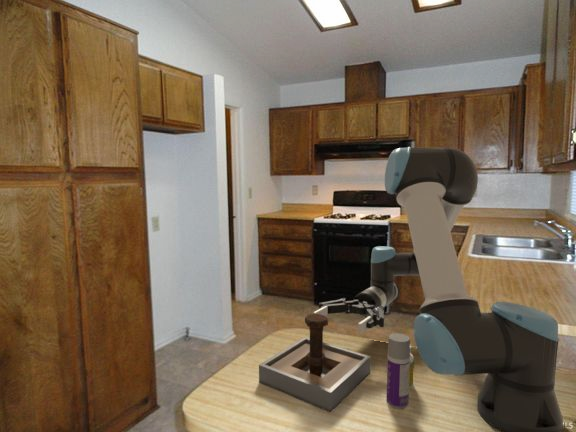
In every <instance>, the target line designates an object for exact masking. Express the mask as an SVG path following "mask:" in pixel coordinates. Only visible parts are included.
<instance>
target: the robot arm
mask: <svg viewBox="0 0 576 432" xmlns="http://www.w3.org/2000/svg"><path fill="white" fill-rule="evenodd" d="M478 175H479V173H478V170H477V167H476V164H475V163H474V161H473V159H472V158H471V157H470V156H469V155H468V154H467V153H466V152H464V151H462V150H461V149H458V148H455V147H411V146H407V147H399V148H395V149H393V150H392V151H391V153H390V154H389V156H388V158H387V162H386V166H385V173H384V189H385V191H386V193H387V194H389V195H394V194H395V199H396V202H397V204H398V205H399V206H401V207H403V208H404V210H405V215H406V219H407V224H408V227H409V233H410V238H411V242H412V247H413V250H412V252H396V249H395V248H394V247H392V246H387V245H385V246H381V245H378V246H375V247H373V248H372V251H371V255H370V256H371V258H370V287H368V288H366V289H365V290H363V291H361V292H358V294H356V295H355V297H354V298H353V300H347V301H346V298H345V297H342V298H339V299H335V300H329V301H323V302H318V309H317V310H315V311H313V313H312V314H321V315H324V316H326V317H327V316H328V315H330V314H339V313H340V314H342V313H345V314H346V315H348V314H350V315H351V314H354V315H356V314H357V315H360V316H362V317H364V319H363V320H361V321H360V322H358V323H357V333H358V335H362V334H363V333H365V332H366V331H367V330H369V329H373V328H374V327H380V328H384V327H385V316H384V315H385V307H387V306H389V305H390V304H392V303H393V302H394V301H395V300H396V299H397V297H398V294H399V290H398V287H397V285H396V283H395V278H396V277H402V276H419V279H420V282H421V287H422V292H423V296H424V297H423V298H424V302H423V303H422V304H421V306H420V307H419V312H420V314H418V315H417V316H416V317H415V318H414V321H413V329H414V331H413V337H414V342H415V346H416V348H417V351H418V353H419V355H420V358H421V359H422V361H423V363H424V364H425V365H426V366H427V368H428V369H429V370H431V371H432V372H434V373H435V374H437V375H442V376H443V375H444V376H445V375H449V376H450V375H452V376H455V377H457V376H458V377H459V376H462V375H479V374H480V375H483V374H487V375H486V376H485V379H484V382H482V383H483V384H482V385H481V388H480V390H479V392H478V394H477V400H476V407H477V408H476V409H477V411H478V414H480V416H481V417H482V418H483V419H484V420H485V421H486V422H487V423H488V424H490V425H491V426H493V427H494V428H496V429H498V430H499V431H501V432H563V423H564V418H563V415H562V411H561V408H560V405H559V402H558V397H557V394H556V391H555V384H556V383H555V382H556V381H555V380H556V370H557V358H558V350H559V349H558V347H559V342H560V338H559V323H558V321H557V320H556V319H555V318H554V317H553V316H552V315H550V314H549V313H547V312H544V311H542V310H540V309H538V308H537V309H536V308H535V307H531V306H527V305H523V304H519V303H513V302H510V301H509V302H507V301H497V302H494V303H492V304H491V307H490V312H482V311H481V308H480V306H479V302H478V300H477V299H476V298H474V297H473V296H471V295H469V293H468V292H467V291H468V290H467V289H466V288H467V287H466V284H465V280H464V277H463V273H462V269H461V266H460V263H459V259H458V255H457V252H456V248H455V244H454V240H453V238H452V233H451V231H452V229H454V227H455V226H454V225H455V223H456V222H457V219H458V218H459V217H460V215H461V212H462V211H463V209H464V206H466V205H468V204H470V203H471V202H472V200H473V198H474V196H475V194H476V191H477V188H478V182H479V181H478V180H479V179H478V178H479V176H478Z"/></svg>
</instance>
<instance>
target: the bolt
mask: <svg viewBox="0 0 576 432" xmlns="http://www.w3.org/2000/svg"><path fill="white" fill-rule="evenodd" d="M304 323H305V324H306V326H307V327H309V328H308V329H309V338H310V352H309V353H308V354H307V355H306V359H307V362H308V364H310V373H311V374H314V375H316V376H319V377H320V376H321V374H322V365H323V364H324V363H325V362H326V356H325V354H324V353H323V350H322V348H323V341H324V340H323V339H324V337H323V336H324V327H326V326H328V325H329V320H328V317H327V316H324V315H321V314H313V313H310V314H307V315H306V316H305V317H304Z"/></svg>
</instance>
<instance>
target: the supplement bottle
mask: <svg viewBox="0 0 576 432" xmlns="http://www.w3.org/2000/svg"><path fill="white" fill-rule="evenodd" d="M414 363H415V359H414V355H413V354H412V345H411V344H410V368H409V389H411V388H412V387H413V386H414V367H415V366H414Z"/></svg>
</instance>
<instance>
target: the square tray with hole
mask: <svg viewBox="0 0 576 432" xmlns="http://www.w3.org/2000/svg"><path fill="white" fill-rule="evenodd" d="M322 350H323V353H324V354H325V356H326V362H325V363H324V364H323V365H322V367H323V368H326V369H329V370H331V371H330V372H328V373H327V374H326V375H325V376H323V377H319V376H316V375H314V374H311V373H308V372H306V371H303V370H302V369H303V368H305V367H306V366H308V365H309V364H308V362H307V359H306V355H307V354H308V353H309V352H310V344H309V343H305V344H303V345H302V346H300V347H298V348H297V349H295V350H294V351H292V352H290V353H289V354H287V355H286V356H284V357H282V358H281V359H279V360H278V361H276V362H275V363H273V364H271V365H270V367H273V368H275V369H278V370H280V371H283V372H286V373H288V374H291V375H294V376H296V377H299V378H301V379H304V380H307V381H309V382H312V383H315V384H317V385H320V386H322V387H325V388H328V389H330V388H331V387H332V386H333V385H334V384H335V383H337V382H338V381H339V380H340V379H341V378H342V377H343V376H344V375H346V374H347V373H348V372H349V371H350V370H351V369H352V368H354V367H355V366H356V365H357V364H358V363H359V362H360V361H361V359H358V358H355V357H351V356H348V355H345V354H342V353H338V352H335V351H332V350H329V349H326V348H322Z"/></svg>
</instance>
